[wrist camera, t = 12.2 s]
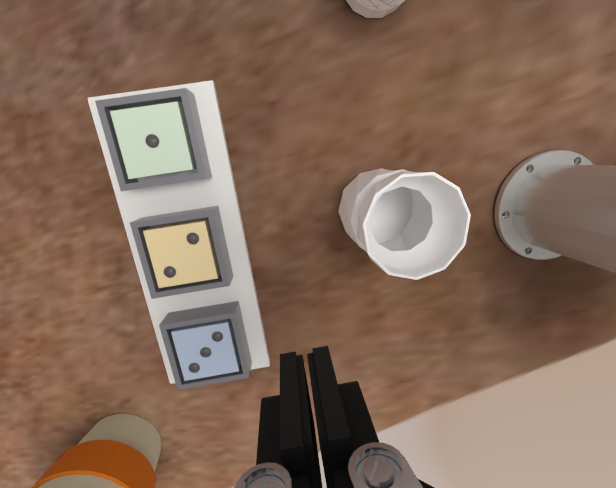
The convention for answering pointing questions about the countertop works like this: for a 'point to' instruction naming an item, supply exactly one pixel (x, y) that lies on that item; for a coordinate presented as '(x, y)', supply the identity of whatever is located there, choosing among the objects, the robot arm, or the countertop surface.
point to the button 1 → (154, 139)
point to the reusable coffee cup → (109, 457)
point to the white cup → (374, 7)
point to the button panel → (182, 207)
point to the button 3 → (206, 349)
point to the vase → (406, 220)
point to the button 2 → (182, 252)
